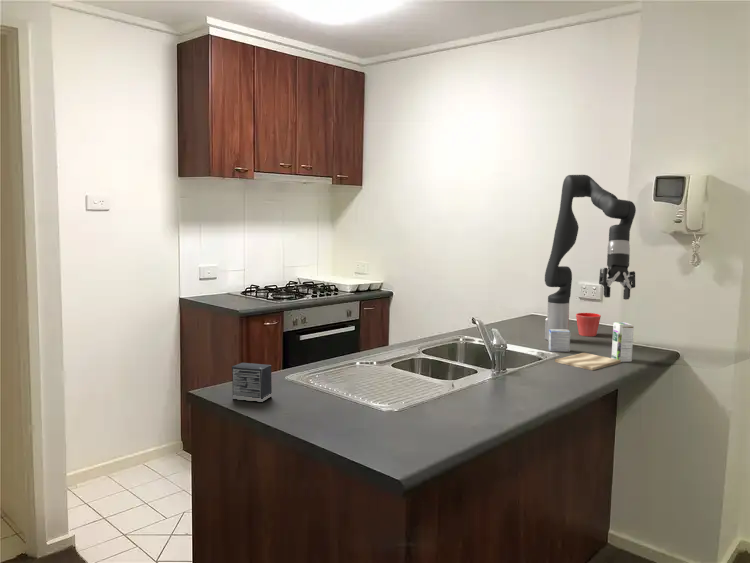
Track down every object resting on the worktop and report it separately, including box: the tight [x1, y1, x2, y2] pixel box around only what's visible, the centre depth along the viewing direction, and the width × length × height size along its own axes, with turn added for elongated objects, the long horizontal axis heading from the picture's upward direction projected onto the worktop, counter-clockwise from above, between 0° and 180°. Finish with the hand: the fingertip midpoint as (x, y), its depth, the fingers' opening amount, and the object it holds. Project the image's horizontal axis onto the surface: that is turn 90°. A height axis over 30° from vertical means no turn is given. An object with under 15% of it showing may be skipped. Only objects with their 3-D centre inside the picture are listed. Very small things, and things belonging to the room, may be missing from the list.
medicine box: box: [548, 329, 571, 353], centre depth 255 cm, size 8×4×9 cm, turn 84°
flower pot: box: [575, 312, 601, 337], centre depth 288 cm, size 11×11×10 cm
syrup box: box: [610, 321, 635, 363], centre depth 238 cm, size 6×6×14 cm
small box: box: [231, 362, 273, 399], centre depth 188 cm, size 11×6×10 cm, turn 71°
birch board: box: [554, 352, 622, 371], centre depth 235 cm, size 16×19×1 cm
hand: (616, 298), depth 222 cm, fingers open, 8 cm apart
